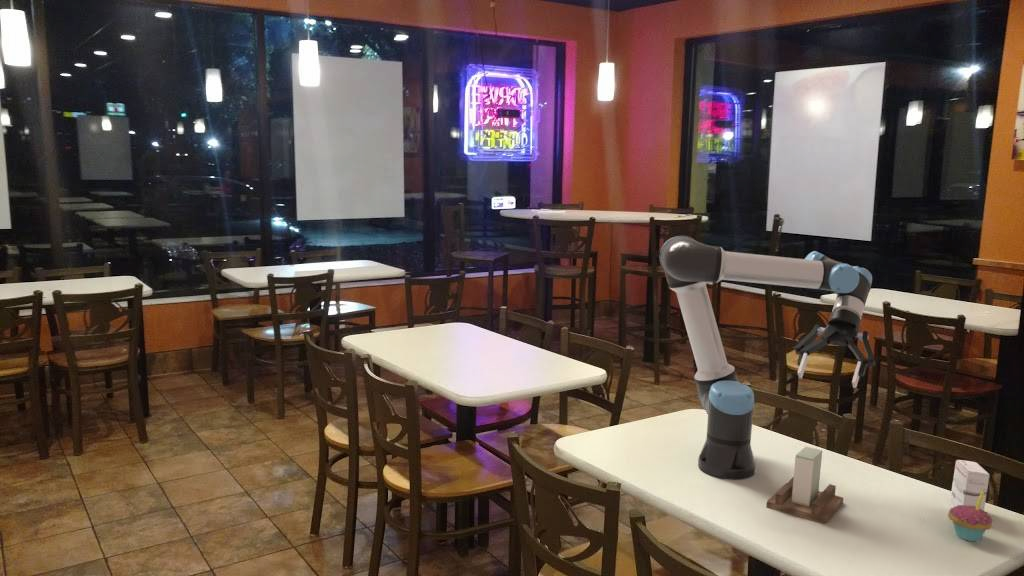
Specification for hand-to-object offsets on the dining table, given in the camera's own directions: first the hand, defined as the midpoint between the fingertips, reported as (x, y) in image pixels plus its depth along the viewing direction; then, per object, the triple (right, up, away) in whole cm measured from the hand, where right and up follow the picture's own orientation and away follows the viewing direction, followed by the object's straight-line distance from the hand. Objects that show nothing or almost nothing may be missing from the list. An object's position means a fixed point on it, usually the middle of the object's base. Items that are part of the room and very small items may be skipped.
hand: (826, 380), depth 199 cm
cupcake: (+22, -33, -26) cm, 47 cm away
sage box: (-10, -28, -11) cm, 32 cm away
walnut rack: (-10, -29, -11) cm, 33 cm away
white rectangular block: (+29, -31, -13) cm, 44 cm away
